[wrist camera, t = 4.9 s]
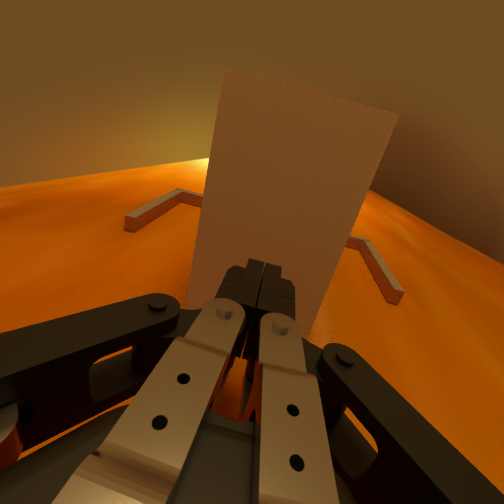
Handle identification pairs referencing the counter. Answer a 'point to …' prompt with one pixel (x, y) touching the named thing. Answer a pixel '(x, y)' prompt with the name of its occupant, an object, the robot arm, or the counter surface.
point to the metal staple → (368, 251)
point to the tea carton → (284, 186)
